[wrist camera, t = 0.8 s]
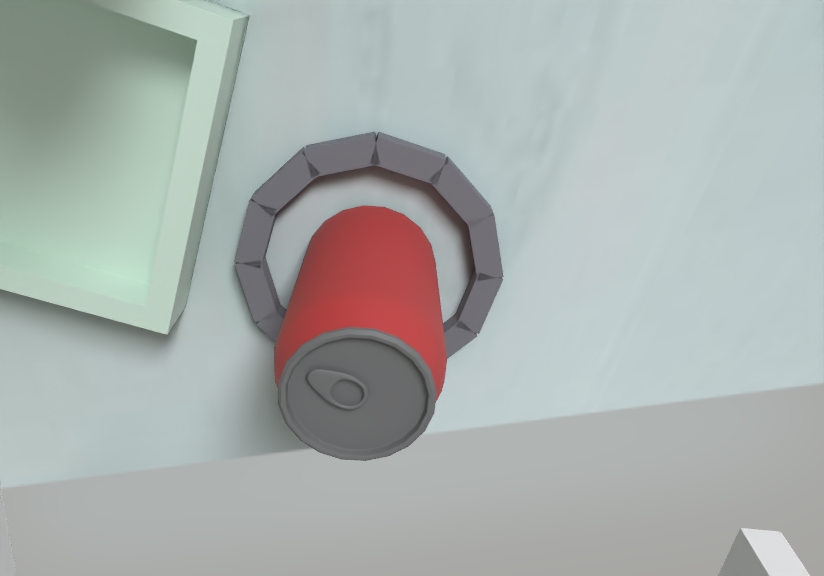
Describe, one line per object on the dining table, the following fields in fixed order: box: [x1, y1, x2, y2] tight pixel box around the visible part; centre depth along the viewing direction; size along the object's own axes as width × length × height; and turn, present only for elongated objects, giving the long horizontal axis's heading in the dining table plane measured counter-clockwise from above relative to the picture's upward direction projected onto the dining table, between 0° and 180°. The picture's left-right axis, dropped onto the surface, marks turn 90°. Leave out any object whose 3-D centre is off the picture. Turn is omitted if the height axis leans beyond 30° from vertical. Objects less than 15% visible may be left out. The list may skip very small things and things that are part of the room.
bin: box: [0, 0, 249, 335], centre depth 29 cm, size 15×15×3 cm
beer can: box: [274, 206, 447, 461], centre depth 28 cm, size 7×7×12 cm
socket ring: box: [234, 132, 503, 358], centre depth 33 cm, size 13×13×1 cm
